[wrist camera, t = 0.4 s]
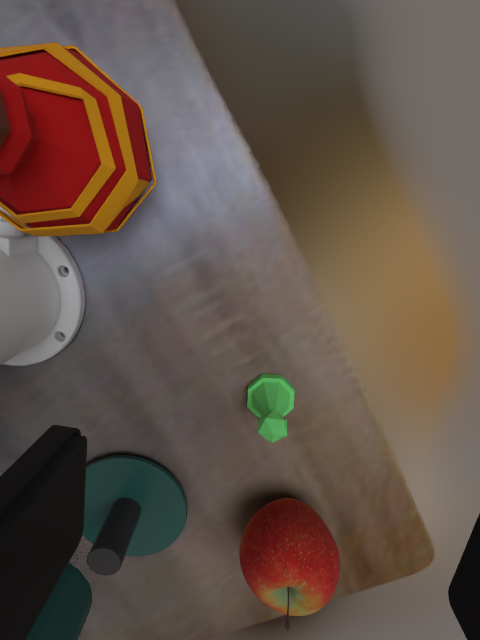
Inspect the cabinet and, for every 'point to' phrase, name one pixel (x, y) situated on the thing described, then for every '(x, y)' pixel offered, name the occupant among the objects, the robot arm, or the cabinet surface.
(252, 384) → the game piece
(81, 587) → the tin
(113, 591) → the cabinet surface
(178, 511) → the lid
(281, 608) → the apple
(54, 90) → the potion bottle
